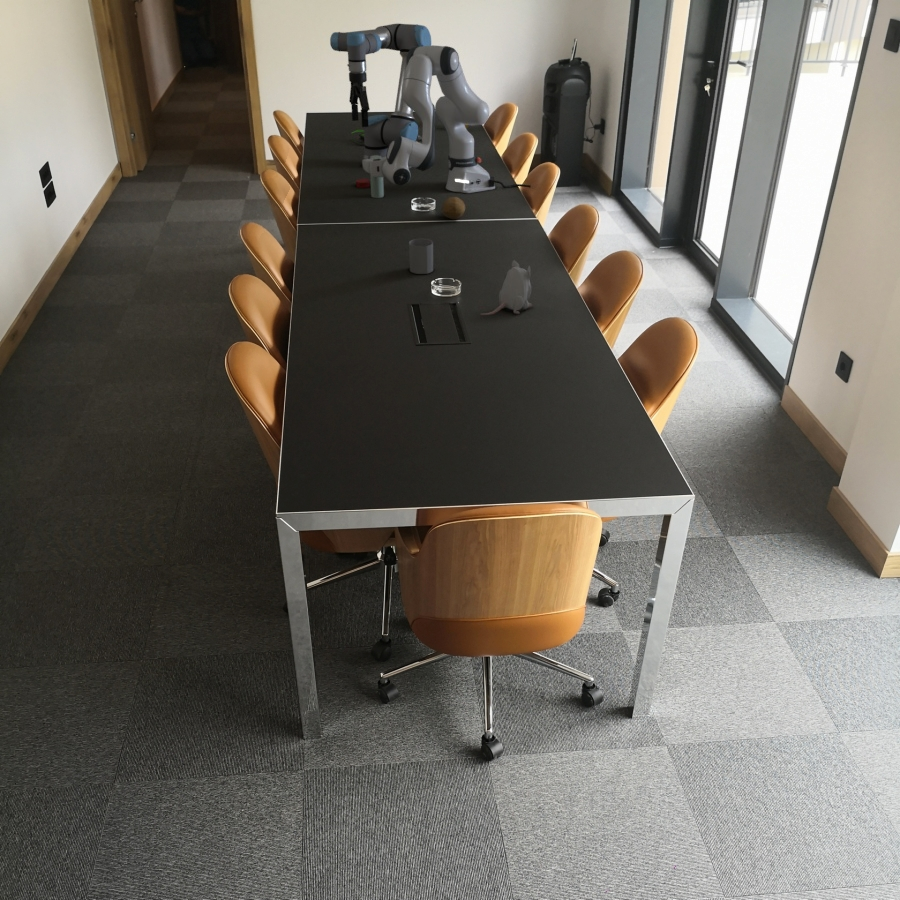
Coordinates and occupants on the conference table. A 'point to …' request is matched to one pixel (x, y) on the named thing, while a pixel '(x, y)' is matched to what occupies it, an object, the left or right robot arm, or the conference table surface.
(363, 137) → the scepter
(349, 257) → the conference table surface
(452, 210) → the potato
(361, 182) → the lid
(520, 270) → the toy
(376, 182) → the jar
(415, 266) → the cup
